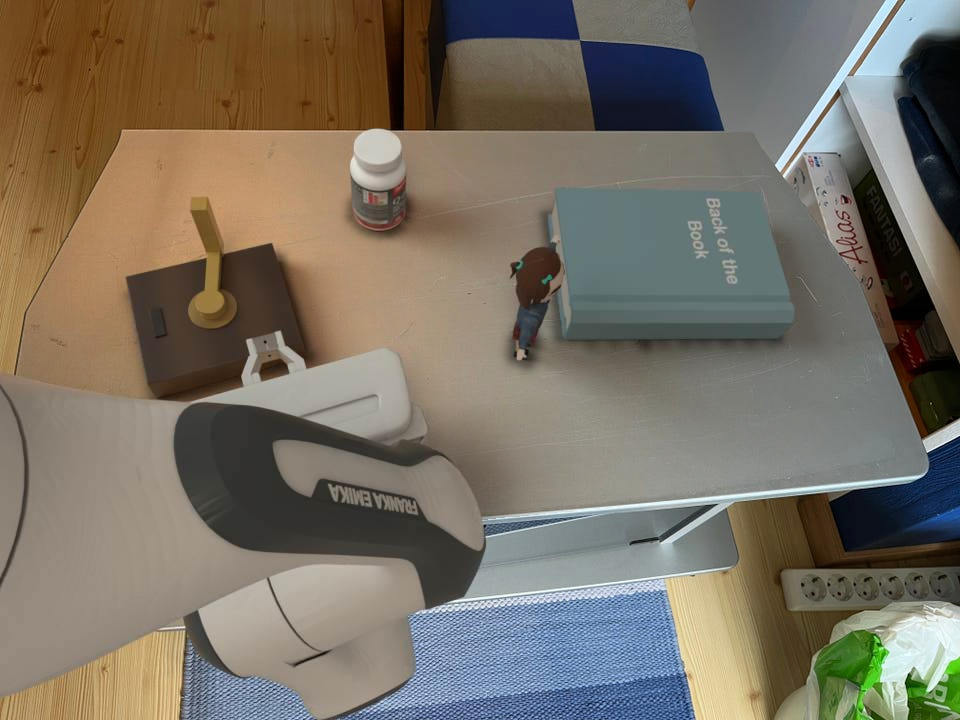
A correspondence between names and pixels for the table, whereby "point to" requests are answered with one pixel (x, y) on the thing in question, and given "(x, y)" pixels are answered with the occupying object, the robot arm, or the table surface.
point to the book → (668, 265)
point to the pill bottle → (378, 180)
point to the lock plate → (202, 342)
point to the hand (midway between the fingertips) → (264, 338)
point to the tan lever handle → (209, 259)
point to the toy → (535, 292)
